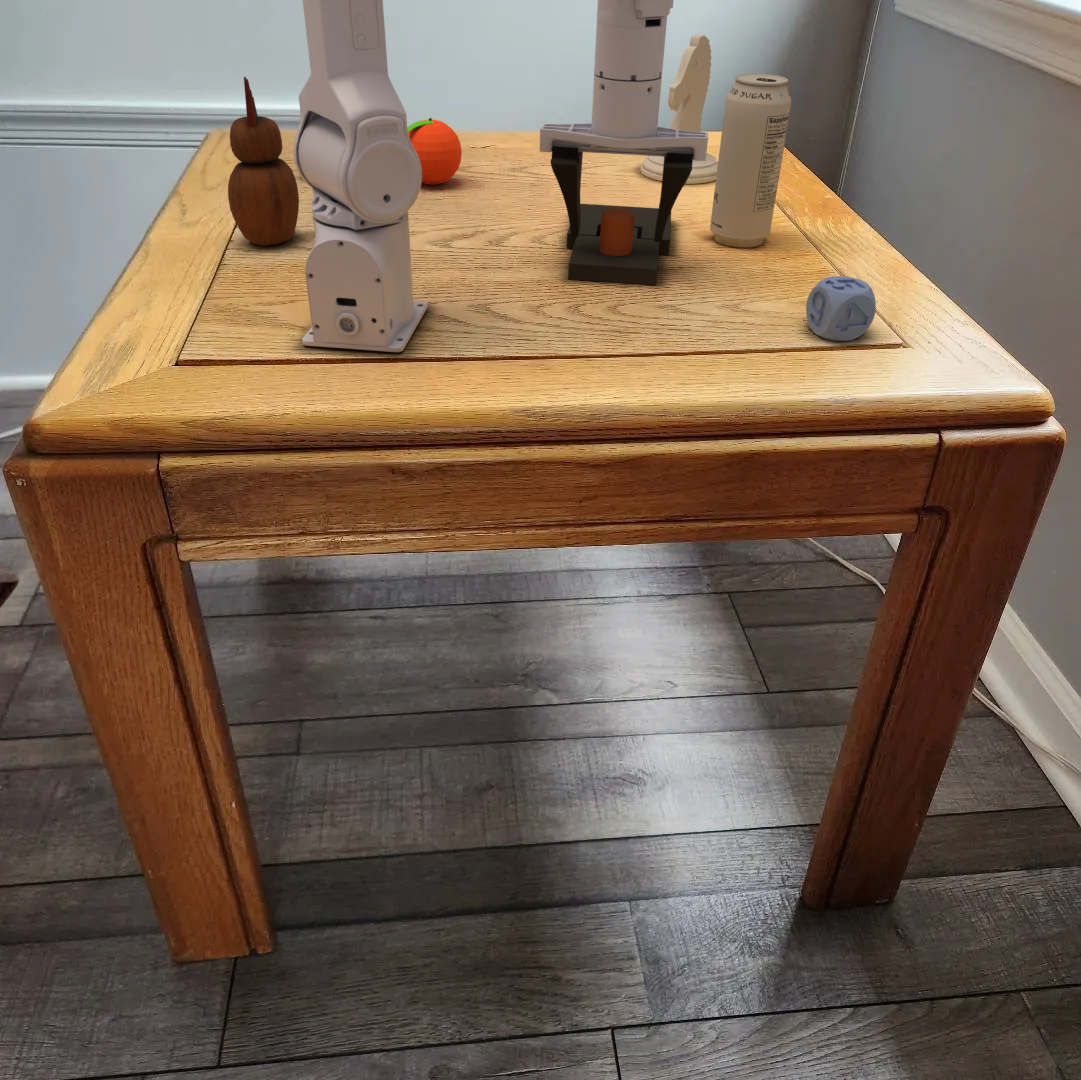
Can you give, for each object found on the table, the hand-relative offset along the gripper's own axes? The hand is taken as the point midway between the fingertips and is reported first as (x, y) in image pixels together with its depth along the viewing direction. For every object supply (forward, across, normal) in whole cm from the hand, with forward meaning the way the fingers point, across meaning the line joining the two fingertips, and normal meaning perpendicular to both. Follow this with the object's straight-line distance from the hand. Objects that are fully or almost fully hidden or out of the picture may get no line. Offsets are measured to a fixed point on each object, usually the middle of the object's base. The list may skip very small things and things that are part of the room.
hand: (616, 236), depth 88 cm
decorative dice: (+3, -19, +12) cm, 23 cm away
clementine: (+3, +23, -23) cm, 33 cm away
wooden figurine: (+3, +34, -1) cm, 34 cm away
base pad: (+3, 0, -9) cm, 10 cm away
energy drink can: (+3, -12, -10) cm, 16 cm away
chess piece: (+3, -6, -34) cm, 35 cm away
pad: (+3, 0, -2) cm, 3 cm away
